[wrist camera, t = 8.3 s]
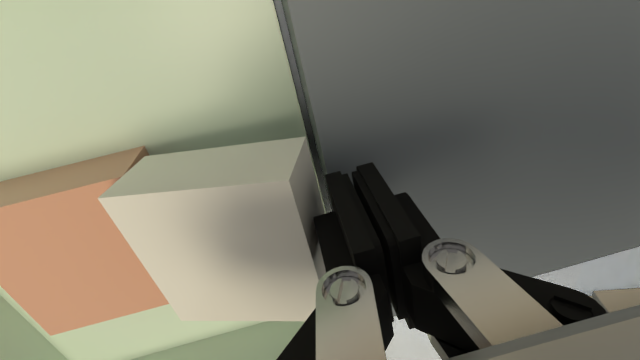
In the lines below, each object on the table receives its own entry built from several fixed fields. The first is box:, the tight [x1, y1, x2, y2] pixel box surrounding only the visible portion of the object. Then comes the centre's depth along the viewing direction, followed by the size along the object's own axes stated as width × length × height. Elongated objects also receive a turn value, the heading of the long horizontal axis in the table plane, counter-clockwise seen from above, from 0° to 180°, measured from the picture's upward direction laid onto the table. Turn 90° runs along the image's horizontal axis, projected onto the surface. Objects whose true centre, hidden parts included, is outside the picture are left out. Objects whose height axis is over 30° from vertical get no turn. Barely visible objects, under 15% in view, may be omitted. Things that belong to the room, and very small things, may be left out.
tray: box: [0, 0, 326, 360], centre depth 14 cm, size 16×20×3 cm
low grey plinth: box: [281, 0, 640, 316], centre depth 14 cm, size 16×16×3 cm
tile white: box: [98, 137, 326, 321], centre depth 12 cm, size 6×6×2 cm
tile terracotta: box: [0, 146, 169, 336], centre depth 14 cm, size 6×6×2 cm
